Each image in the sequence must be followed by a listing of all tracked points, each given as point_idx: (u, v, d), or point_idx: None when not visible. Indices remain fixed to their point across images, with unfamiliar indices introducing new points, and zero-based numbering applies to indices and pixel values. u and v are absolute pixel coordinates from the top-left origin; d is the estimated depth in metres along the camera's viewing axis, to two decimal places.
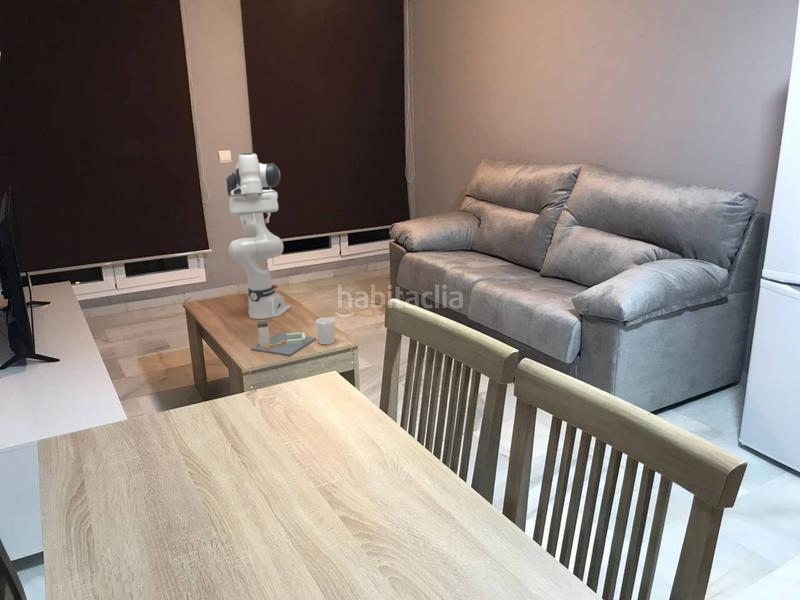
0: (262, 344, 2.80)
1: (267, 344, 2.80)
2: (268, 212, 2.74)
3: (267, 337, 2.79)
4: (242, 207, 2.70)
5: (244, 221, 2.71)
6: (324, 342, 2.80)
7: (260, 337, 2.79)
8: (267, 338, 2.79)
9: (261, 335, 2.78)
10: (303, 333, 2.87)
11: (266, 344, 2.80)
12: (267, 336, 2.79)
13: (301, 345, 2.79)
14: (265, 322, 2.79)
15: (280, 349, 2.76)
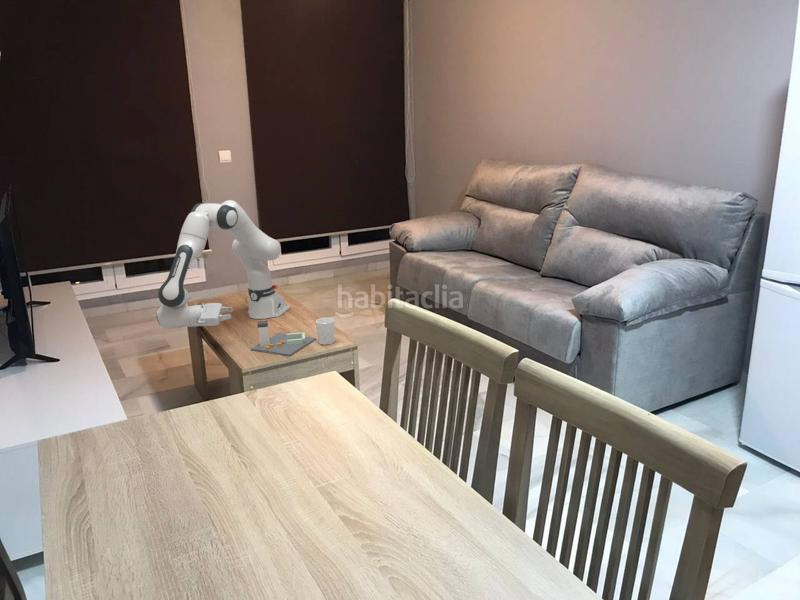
0: (262, 344, 2.80)
1: (267, 344, 2.80)
2: None
3: (267, 337, 2.79)
4: None
5: None
6: (324, 342, 2.80)
7: (260, 337, 2.79)
8: (267, 338, 2.79)
9: (261, 335, 2.78)
10: (303, 333, 2.87)
11: (266, 344, 2.80)
12: (267, 336, 2.79)
13: (301, 345, 2.79)
14: (265, 322, 2.79)
15: (280, 349, 2.76)
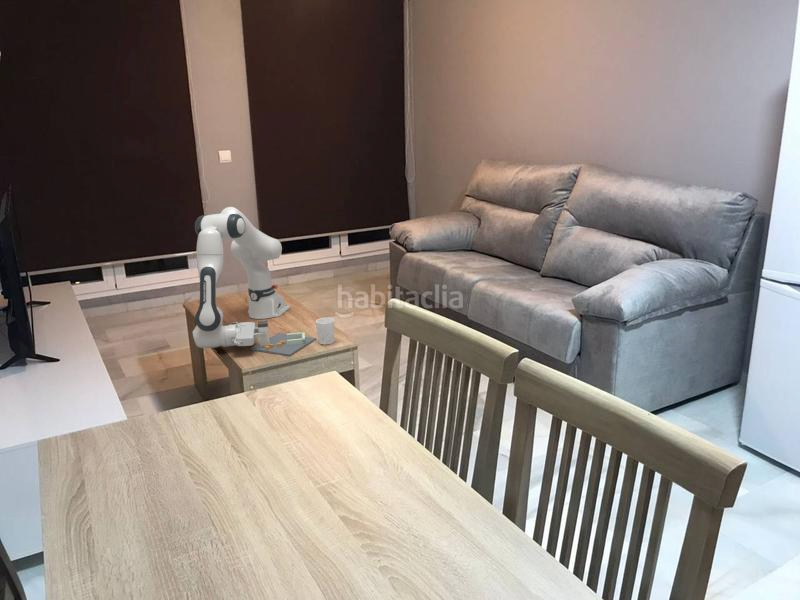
0: (262, 344, 2.80)
1: (267, 344, 2.80)
2: None
3: (267, 337, 2.79)
4: None
5: None
6: (324, 342, 2.80)
7: None
8: (267, 338, 2.79)
9: None
10: (303, 333, 2.87)
11: (266, 344, 2.80)
12: (267, 336, 2.79)
13: (301, 345, 2.79)
14: (265, 322, 2.79)
15: (280, 349, 2.76)
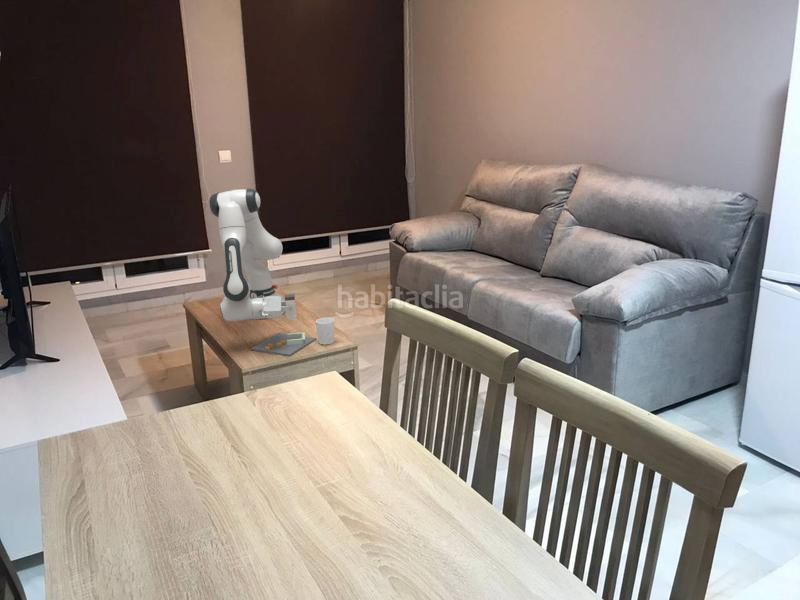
0: (289, 317, 2.79)
1: (294, 317, 2.79)
2: None
3: (294, 310, 2.78)
4: None
5: None
6: (324, 342, 2.80)
7: None
8: (294, 311, 2.79)
9: None
10: (303, 333, 2.87)
11: (293, 317, 2.79)
12: (294, 309, 2.78)
13: (301, 345, 2.79)
14: (292, 295, 2.78)
15: (280, 349, 2.76)
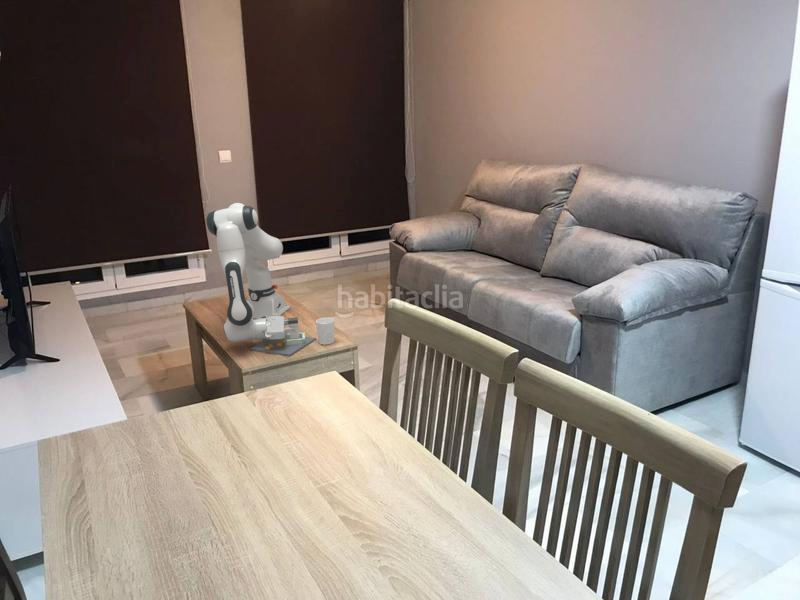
0: None
1: None
2: None
3: (297, 333, 2.82)
4: None
5: None
6: (324, 342, 2.80)
7: (290, 333, 2.81)
8: (297, 334, 2.82)
9: None
10: (303, 333, 2.87)
11: None
12: (297, 332, 2.82)
13: (301, 345, 2.79)
14: (295, 319, 2.81)
15: (280, 349, 2.76)
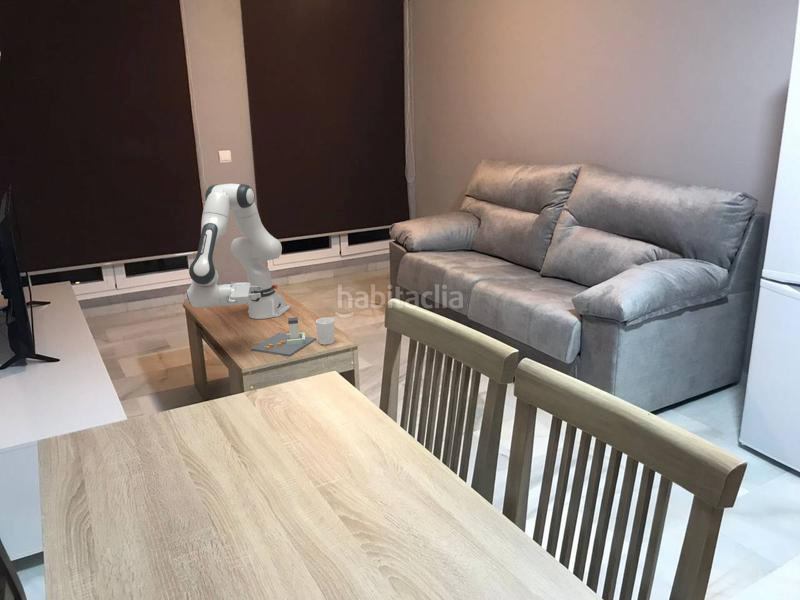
0: None
1: None
2: None
3: (297, 333, 2.82)
4: None
5: None
6: (324, 342, 2.80)
7: (290, 333, 2.81)
8: (297, 334, 2.82)
9: (292, 331, 2.81)
10: (303, 333, 2.87)
11: None
12: (297, 332, 2.82)
13: (301, 345, 2.79)
14: (295, 319, 2.81)
15: (280, 349, 2.76)
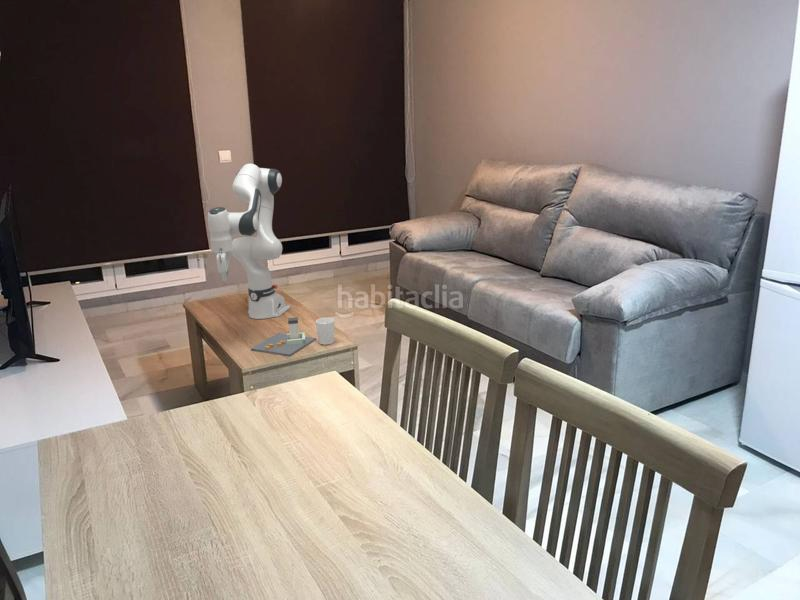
0: None
1: None
2: None
3: (297, 333, 2.82)
4: None
5: None
6: (324, 342, 2.80)
7: (290, 333, 2.81)
8: (297, 334, 2.82)
9: (292, 331, 2.81)
10: (303, 333, 2.87)
11: None
12: (297, 332, 2.82)
13: (301, 345, 2.79)
14: (295, 319, 2.81)
15: (280, 349, 2.76)
